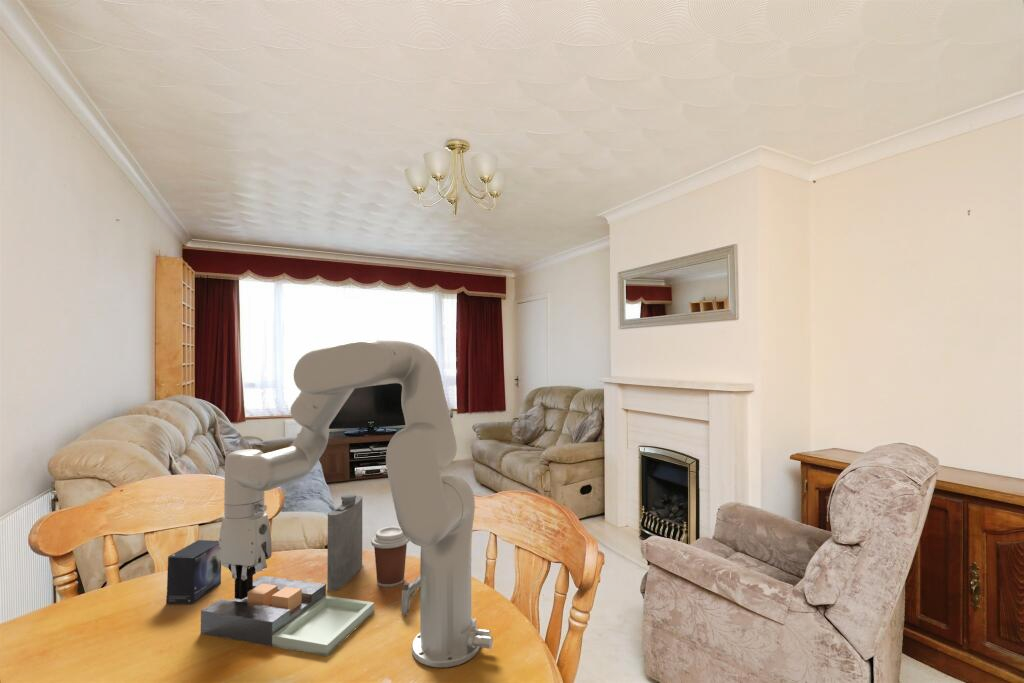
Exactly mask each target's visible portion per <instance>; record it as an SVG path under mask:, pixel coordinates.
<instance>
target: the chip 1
mask: <svg viewBox="0 0 1024 683" xmlns="http://www.w3.org/2000/svg"><path fill="white" fill-rule="evenodd" d="M277 592H278V586H277V585H270V584H263V583H262V584H260V585H259V586H257V587H255V588H254V589H252V590H250V591H248V599H247V603H250V604H257V605H263V606H269V605H271V604H272V595H273V594H275V593H277Z"/></svg>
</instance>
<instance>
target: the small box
mask: <svg viewBox="0 0 1024 683" xmlns="http://www.w3.org/2000/svg"><path fill="white" fill-rule="evenodd" d="M167 560H168V561H167V576H166V577H167V579H166V580H167V581H166V598H165V599H166V600H165V601H166V602H165V603H166V604H168V605H169V604H173V605H176V604H177V605H193V604H195V603H196V602H197V601H199V600H200V599H201V598H202V597H204V596H205V595H206V594H208V593H209V592H211V591H212V590H213V589H215V588H217V587H218V586H219V585H221V583H222V580H221V579H222V562H221V561H220V559H219V540H210V539H209V540H208V539H206V540H205V539H198V540H196V541H195V542H192V543H190V544H189V545H187V546H185V547H184V548H181V549H179V550H177V551H176V552H174V553H172V554H170V555H168V556H167Z"/></svg>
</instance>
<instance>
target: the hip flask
mask: <svg viewBox="0 0 1024 683" xmlns="http://www.w3.org/2000/svg"><path fill="white" fill-rule="evenodd" d="M340 500H341V505H338V507H336V508H335V509H334V510H332V511H329V512H328V513H327V584H326V590H327V591H332V592H333V591H338V590H340V589H342V588H343V587H344V586H345V585H347V584H348V583H349V582H350V581H351V580H352V579H353V578H354V577H355V576H356V575H357V574H358V573H359V571H360V569H361V568H362V566H363V496H361V495H357V494H356V493H344V494H341V497H340Z"/></svg>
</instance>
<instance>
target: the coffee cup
mask: <svg viewBox="0 0 1024 683" xmlns="http://www.w3.org/2000/svg"><path fill="white" fill-rule="evenodd" d="M409 542H410V541H409V540H408V539H407V538H406V537H405V535H404V534H403V532H402V530H401V528H400V526H385V527H381V528H380V529H378V530H377V531H376V532H375V535H374V536H373V537H372V539H371V542H370V544H371V546H372V547H373V548H374V559H375V561H374V562H375V570H376V572H375V573H376V574H375V575H376V584H377V585H378V586H379V587H382V588H392V587H393V588H394V587H397V586H399V585H401V584H403V583H404V581H405V573H406V572H405V571H406V570H405V569H406V558H407V546H408V543H409Z"/></svg>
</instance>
